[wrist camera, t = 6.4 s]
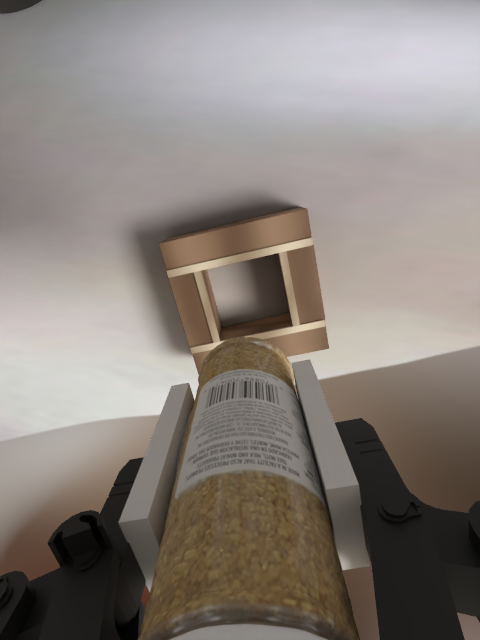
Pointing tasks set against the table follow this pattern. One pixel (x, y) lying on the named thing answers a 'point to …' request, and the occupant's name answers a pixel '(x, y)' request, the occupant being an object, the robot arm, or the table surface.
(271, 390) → the sprinkles bottle
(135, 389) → the table surface
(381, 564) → the robot arm
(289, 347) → the socket
